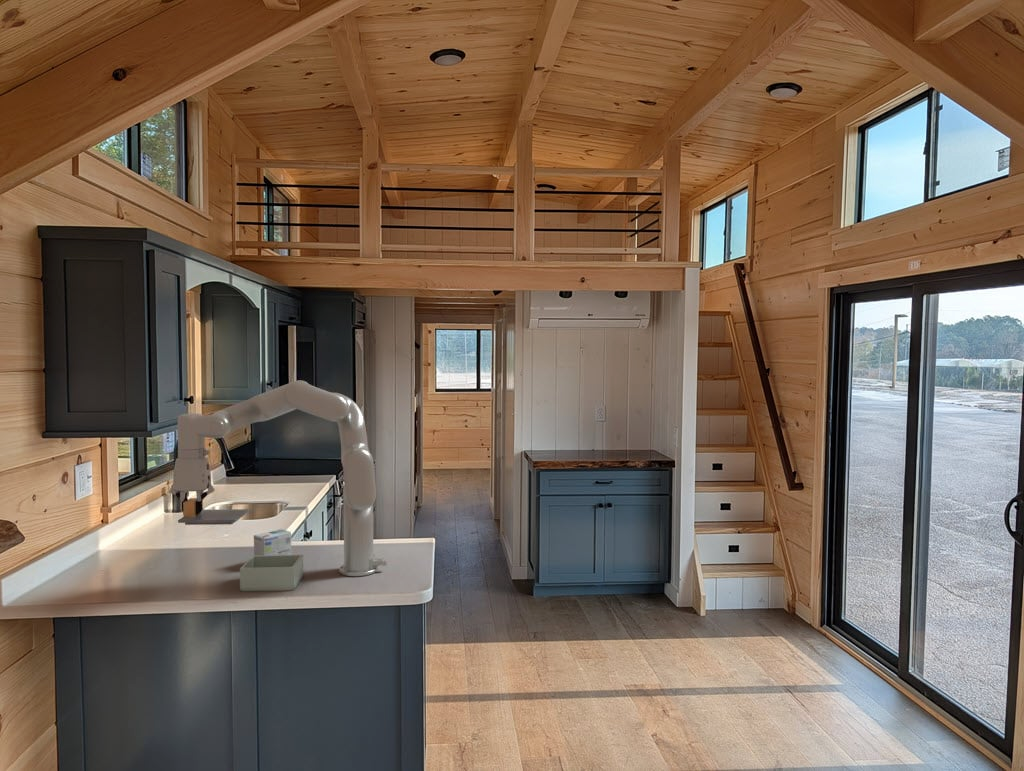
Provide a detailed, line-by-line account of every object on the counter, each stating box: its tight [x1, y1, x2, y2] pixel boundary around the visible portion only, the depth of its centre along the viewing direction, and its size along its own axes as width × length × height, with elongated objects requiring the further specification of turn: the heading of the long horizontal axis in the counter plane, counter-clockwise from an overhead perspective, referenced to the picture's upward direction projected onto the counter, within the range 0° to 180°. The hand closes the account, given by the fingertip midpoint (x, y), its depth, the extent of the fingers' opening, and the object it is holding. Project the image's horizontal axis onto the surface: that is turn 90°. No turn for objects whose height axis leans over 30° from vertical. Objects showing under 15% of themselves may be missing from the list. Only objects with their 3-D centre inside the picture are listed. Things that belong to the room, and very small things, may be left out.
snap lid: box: [177, 497, 249, 526], centre depth 214 cm, size 16×14×6 cm
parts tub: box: [239, 554, 304, 592], centre depth 217 cm, size 16×13×8 cm
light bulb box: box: [253, 528, 292, 556], centre depth 236 cm, size 11×7×11 cm, turn 141°
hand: (192, 512), depth 214 cm, fingers closed on snap lid, 3 cm apart
